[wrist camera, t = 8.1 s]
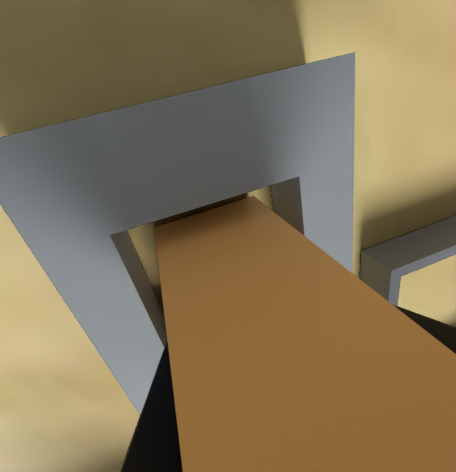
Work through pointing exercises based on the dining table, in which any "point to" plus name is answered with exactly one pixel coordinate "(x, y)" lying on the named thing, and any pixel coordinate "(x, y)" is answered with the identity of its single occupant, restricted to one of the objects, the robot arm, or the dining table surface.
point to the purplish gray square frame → (406, 256)
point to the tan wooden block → (294, 356)
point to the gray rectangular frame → (176, 190)
